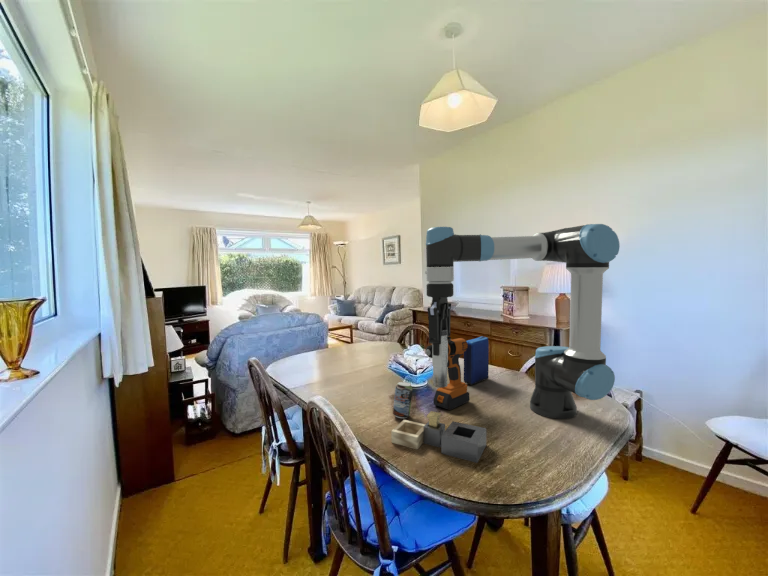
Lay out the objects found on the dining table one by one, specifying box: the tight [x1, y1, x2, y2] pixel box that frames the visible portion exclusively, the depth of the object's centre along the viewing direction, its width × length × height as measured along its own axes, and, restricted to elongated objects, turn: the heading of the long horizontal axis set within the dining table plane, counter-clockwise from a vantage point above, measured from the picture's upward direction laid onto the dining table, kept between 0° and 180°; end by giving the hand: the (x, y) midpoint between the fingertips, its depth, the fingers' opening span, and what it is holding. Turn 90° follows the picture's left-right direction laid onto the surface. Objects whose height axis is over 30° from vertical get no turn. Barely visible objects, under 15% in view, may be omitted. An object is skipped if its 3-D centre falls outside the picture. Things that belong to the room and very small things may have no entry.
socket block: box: [423, 420, 487, 464], centre depth 99 cm, size 16×10×6 cm, turn 60°
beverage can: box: [392, 381, 413, 419], centre depth 121 cm, size 6×7×12 cm
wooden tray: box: [390, 419, 426, 450], centre depth 103 cm, size 8×8×4 cm
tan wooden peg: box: [426, 410, 442, 429], centre depth 101 cm, size 3×3×8 cm
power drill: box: [424, 337, 471, 411], centre depth 129 cm, size 22×7×25 cm, turn 129°
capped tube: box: [432, 329, 448, 388], centre depth 98 cm, size 4×4×16 cm
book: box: [463, 335, 490, 386], centre depth 155 cm, size 14×5×20 cm, turn 130°
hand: (440, 363), depth 98 cm, fingers closed on capped tube, 4 cm apart
